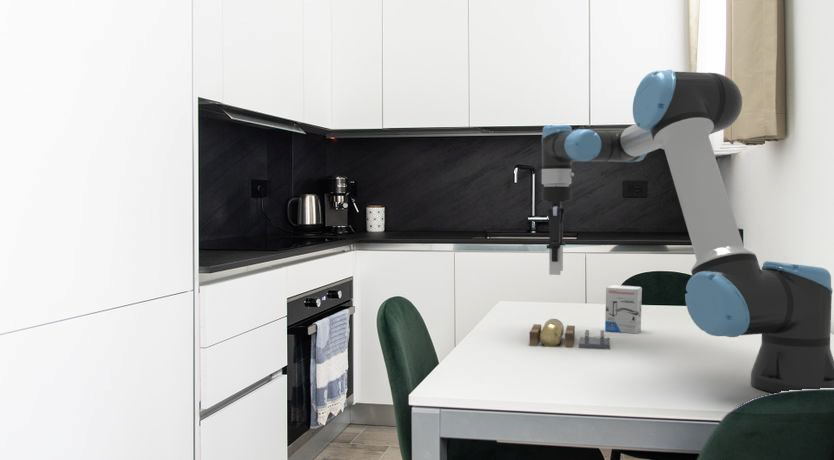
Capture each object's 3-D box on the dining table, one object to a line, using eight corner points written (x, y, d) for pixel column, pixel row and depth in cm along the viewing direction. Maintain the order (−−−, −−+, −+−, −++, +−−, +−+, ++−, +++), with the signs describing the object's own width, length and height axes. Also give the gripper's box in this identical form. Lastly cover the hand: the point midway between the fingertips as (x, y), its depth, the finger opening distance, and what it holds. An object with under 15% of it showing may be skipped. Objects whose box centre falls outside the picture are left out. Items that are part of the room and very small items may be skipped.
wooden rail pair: (572, 347, 195) (572, 333, 195) (529, 345, 197) (529, 332, 197) (574, 338, 207) (574, 325, 207) (533, 336, 209) (533, 324, 209)
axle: (561, 347, 196) (561, 326, 195) (540, 347, 197) (539, 326, 197) (564, 338, 207) (563, 318, 207) (544, 338, 208) (543, 318, 208)
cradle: (609, 349, 193) (609, 337, 193) (578, 347, 194) (578, 336, 194) (609, 342, 201) (609, 330, 201) (580, 341, 203) (580, 329, 203)
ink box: (604, 331, 218) (604, 286, 217) (609, 328, 222) (609, 284, 221) (637, 333, 214) (637, 288, 213) (641, 331, 218) (642, 286, 217)
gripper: (569, 185, 200) (568, 277, 201) (573, 186, 222) (572, 268, 223) (538, 185, 202) (537, 276, 203) (545, 186, 224) (544, 268, 225)
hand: (556, 272), depth 213 cm, fingers open, 10 cm apart
